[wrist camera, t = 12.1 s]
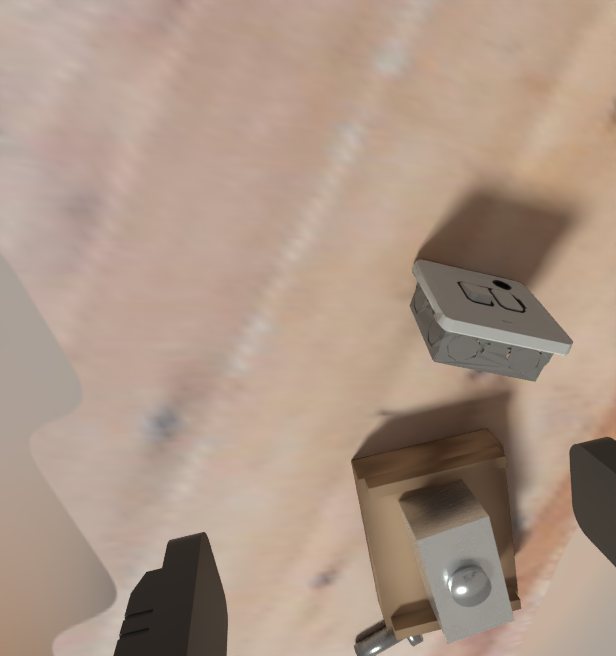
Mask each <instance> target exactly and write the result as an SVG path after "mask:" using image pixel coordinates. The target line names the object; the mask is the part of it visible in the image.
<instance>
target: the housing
mask: <svg viewBox="0 0 616 656" xmlns="http://www.w3.org/2000/svg"><path fill="white" fill-rule="evenodd" d="M398 502H399V506H400V509H401V512H402V516H403V519H404V522H405V526H406V529H407V532H408V536H409V539H410V542H411V546H412V549H413V552H414V555H415V559H416V562H417V565H418V569H419V572H420V575H421V579H422V582H423V585H424V589H425V592H426V595H427V598H428V600H429V602H430V605H431V607H432V609H433V611H434V614H435V616H436V618H437V621H438V623H439V625H440V628H441V630H442V632H443V634H444V637H445V639H446V641H447V644H448V643H451V642H454V641H457V640H460V639H463V638H466V637H469V636H471V635H474V634H477V633H480V632H483V631H486V630H489V629H492V628H494V627H497V626H500V625H503V624H506V623H509V622H512V621H514V617H513V613H512V608H511V604H510V600H509V596H508V592H507V588H506V584H505V580H504V576H503V572H502V567H501V563H500V559H499V555H498V551H497V547H496V543H495V539H494V535H493V531H492V527H491V522H490V518H489V515H488V514H487V513H486V511H485V510H484V509H483V507H482V506H481V504H480V503H479V502H478V500H477V499H476V497H475V496H474V495H473V493H472V492H471V491H470V489H469V488H468V486H467V485H466V484H465V482H464V481H463V479H460V480H457V481H454V482H451V483H448V484H445V485H443V486H440V487H437V488H434V489H431V490H428V491H425V492H422V493H419V494H416V495H413V496H410V497H407V498H404V499H401V500H398Z"/></svg>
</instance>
